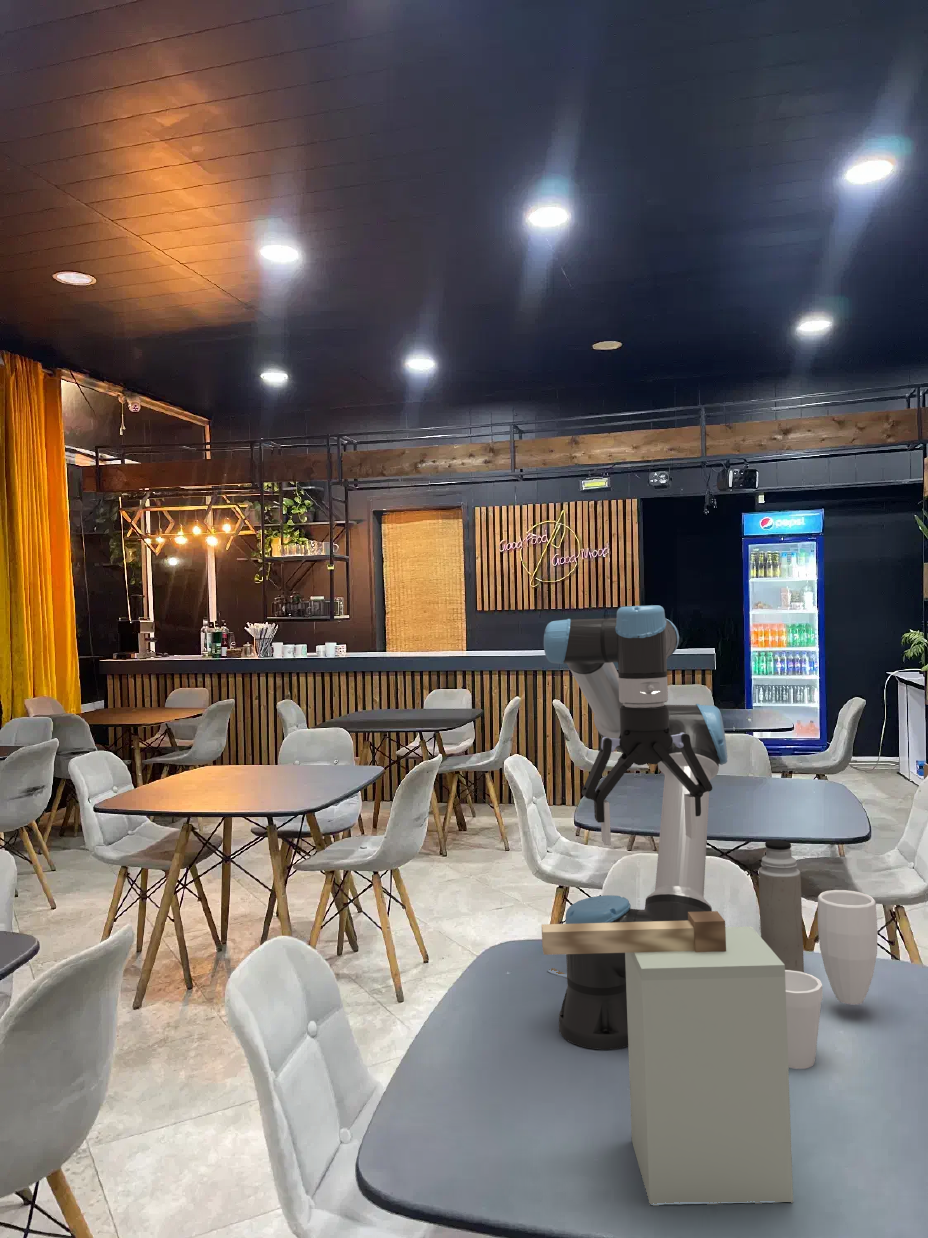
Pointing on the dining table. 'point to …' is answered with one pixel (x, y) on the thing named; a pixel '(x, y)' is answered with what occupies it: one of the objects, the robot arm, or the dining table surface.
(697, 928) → the beech bar
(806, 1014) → the foam cup
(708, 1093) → the stand
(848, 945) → the cup
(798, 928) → the thermos bottle
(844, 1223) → the dining table surface
